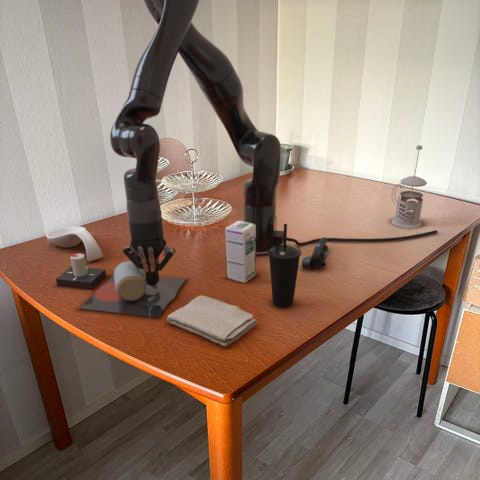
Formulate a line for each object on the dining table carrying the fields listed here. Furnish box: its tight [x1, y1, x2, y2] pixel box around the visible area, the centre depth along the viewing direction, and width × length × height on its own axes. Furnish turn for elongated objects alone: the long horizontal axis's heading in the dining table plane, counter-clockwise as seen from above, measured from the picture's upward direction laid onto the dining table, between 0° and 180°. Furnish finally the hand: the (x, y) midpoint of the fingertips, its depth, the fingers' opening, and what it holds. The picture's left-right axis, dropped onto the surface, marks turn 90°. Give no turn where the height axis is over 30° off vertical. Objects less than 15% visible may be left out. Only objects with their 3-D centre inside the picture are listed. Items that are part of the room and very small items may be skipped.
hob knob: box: [69, 253, 88, 277], centre depth 128 cm, size 4×4×5 cm
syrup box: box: [224, 220, 257, 284], centre depth 128 cm, size 6×6×14 cm
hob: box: [79, 274, 187, 319], centre depth 124 cm, size 21×20×1 cm
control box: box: [55, 265, 107, 290], centre depth 130 cm, size 10×8×2 cm
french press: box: [391, 144, 428, 229], centre depth 158 cm, size 10×12×25 cm
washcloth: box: [166, 295, 258, 348], centre depth 110 cm, size 12×18×3 cm, turn 54°
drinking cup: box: [267, 223, 302, 309], centre depth 114 cm, size 8×8×20 cm
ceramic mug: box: [113, 260, 159, 301], centre depth 121 cm, size 11×8×8 cm
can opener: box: [301, 236, 329, 269], centre depth 139 cm, size 18×7×6 cm, turn 160°
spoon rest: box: [45, 225, 104, 263], centre depth 147 cm, size 24×12×7 cm, turn 43°
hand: (153, 284), depth 121 cm, fingers closed
